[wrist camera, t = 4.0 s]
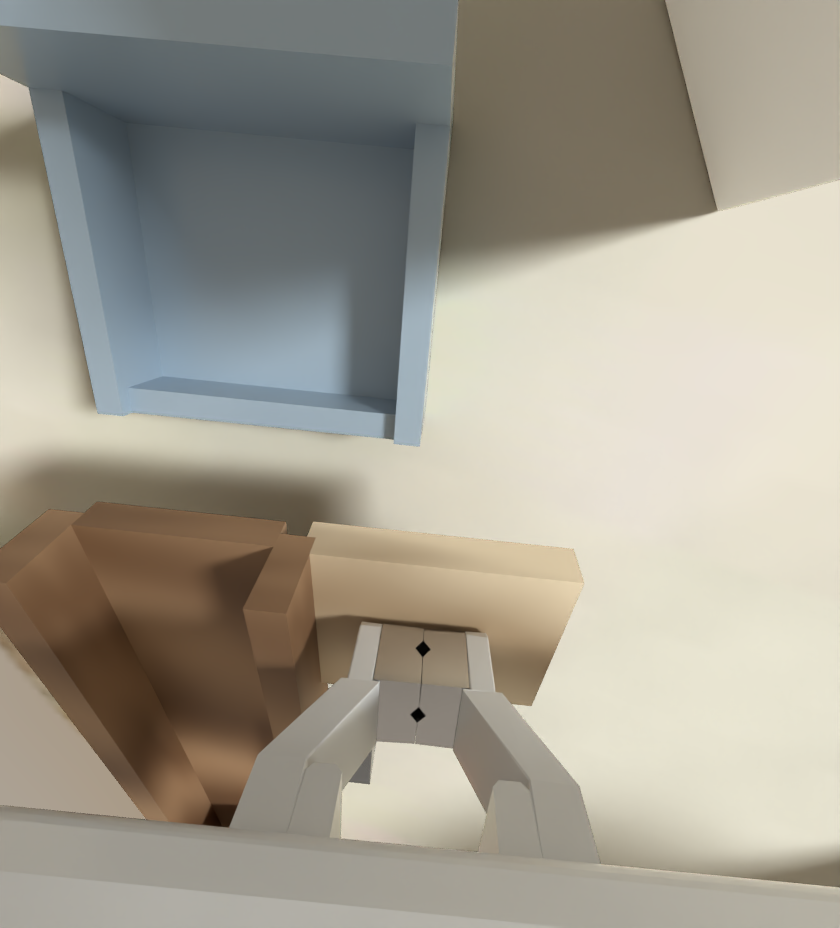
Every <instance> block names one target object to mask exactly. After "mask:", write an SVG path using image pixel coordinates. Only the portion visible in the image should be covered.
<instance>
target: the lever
mask: <svg viewBox="0 0 840 928" xmlns="http://www.w3.org/2000/svg"><path fill="white" fill-rule="evenodd" d="M583 585H584V581H583V577H582V574H581V571H580V568H579V565H578V562H577V559H576V555H575V552H574V549H569V548H559V547H550V546H540V545H531V544H521V543H512V542H502V541H493V540H483V539H474V538H465V537H455V536H446V535H436V534H427V533H417V532H408V531H398V530H389V529H379V528H370V527H361V526H351V525H342V524H332V523H323V522H313V523H312V526H311V528H310V530H309V533H308V535H307V536H297V535H288V533H287V525H286V522H285V521H275V520H266V519H256V518H247V517H237V516H228V515H219V514H209V513H200V512H190V511H181V510H171V509H162V508H153V507H143V506H134V505H124V504H115V503H105V502H96V503H95V504H94V505H93V506H91V507H90V508H89V509H88V510H87V511H86V512H85V513H81V512H72V511H62V510H53V509H49V510H47V511H46V512H45V513H44V514H42V515H41V516H40V517H39V518H38V519H36V520H35V521H34V522H33V523H31V524H30V525H29V526H28V527H26V528H25V529H24V530H23V531H22V532H20V533H19V534H18V535H17V536H15V537H14V538H13V539H12V540H10V541H9V542H8V543H7V544H6V545H4V546H3V547H2V548H1V549H0V627H1V629H2V630H3V631H4V633H5V634H6V635H7V636H8V638H9V639H10V640H11V642H12V643H13V644H14V646H15V647H16V648H17V650H18V651H19V652H20V654H21V655H22V656H23V658H24V659H25V660H26V661H27V663H28V664H29V665H30V667H31V668H32V669H33V671H34V672H35V673H36V675H37V676H38V677H39V679H40V680H41V681H42V683H43V684H44V685H45V687H46V688H47V689H48V690H49V692H50V693H51V694H52V696H53V697H54V698H55V700H56V701H57V702H58V704H59V705H60V706H61V708H62V709H63V710H64V712H65V713H66V714H67V715H68V717H69V718H70V719H71V721H72V722H73V723H74V725H75V726H76V727H77V729H78V730H79V731H80V733H81V734H82V735H83V737H84V738H85V739H86V741H87V742H88V743H89V744H90V746H91V747H92V748H93V750H94V751H95V752H96V754H97V755H98V756H99V758H100V759H101V760H102V762H103V763H104V764H105V766H106V767H107V768H108V769H109V771H110V772H111V773H112V775H113V776H114V777H115V779H116V780H117V781H118V783H119V784H120V785H121V787H122V788H123V789H124V791H125V792H126V793H127V795H128V796H129V797H130V798H131V800H132V801H133V802H134V804H135V805H136V806H137V808H138V809H139V810H140V812H141V813H142V814H143V816H144V817H145V818H146V820H156V821H166V822H177V823H187V824H197V825H207V826H217V827H227V828H228V827H229V826H230V824H231V821H232V819H233V816H234V814H235V811H236V809H237V806H238V803H239V801H240V798H241V796H242V793H243V791H244V788H245V786H246V783H247V781H248V778H249V776H250V773H251V771H252V768H253V765H254V763H255V760H256V758H257V755H258V754H259V753H260V752H261V751H262V750H263V749H264V748H265V747H266V746H267V745H268V744H270V743H271V742H272V741H273V740H274V739H275V738H276V737H277V736H278V735H279V734H280V733H281V732H283V731H284V730H285V729H286V728H287V727H288V726H289V725H290V724H291V723H292V722H293V721H294V720H296V719H297V718H298V717H299V716H300V715H301V714H302V713H303V712H304V711H305V710H306V709H307V708H309V707H310V706H311V705H312V704H313V703H314V702H315V701H316V700H317V699H318V698H319V697H320V696H322V695H323V694H324V693H325V692H326V691H327V690H328V689H329V688H328V684H327V683H329V684H335V683H336V682H337V681H338V680H339V679H340V678H347V677H348V673H349V669H350V665H351V660H352V656H353V652H354V648H355V644H356V639H357V635H358V631H359V627H360V625H361V623H362V622H370V623H378V624H391V625H400V626H408V627H417V628H428V629H440V630H452V631H464V632H465V631H466V632H479V633H486V634H487V636H488V641H489V649H490V656H491V663H492V670H493V677H494V684H495V692H499V693H503V695H504V696H505V697H506V698H507V699H508V701H509V702H510V703H511V704H517V705H526V706H532V703H533V701H534V699H535V696H536V694H537V692H538V690H539V687H540V685H541V683H542V680H543V678H544V676H545V673H546V671H547V669H548V666H549V664H550V662H551V659H552V657H553V655H554V652H555V650H556V648H557V646H558V643H559V641H560V639H561V636H562V634H563V632H564V629H565V627H566V625H567V622H568V620H569V618H570V615H571V613H572V611H573V608H574V606H575V604H576V602H577V599H578V597H579V595H580V592H581V590H582V588H583Z"/></svg>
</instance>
